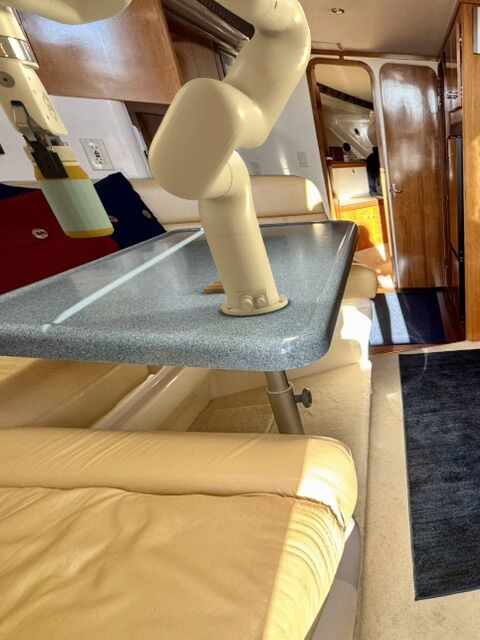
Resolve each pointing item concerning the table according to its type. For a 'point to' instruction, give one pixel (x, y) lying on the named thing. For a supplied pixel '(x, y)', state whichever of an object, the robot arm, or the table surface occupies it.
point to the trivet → (214, 288)
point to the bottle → (73, 198)
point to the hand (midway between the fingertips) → (62, 176)
